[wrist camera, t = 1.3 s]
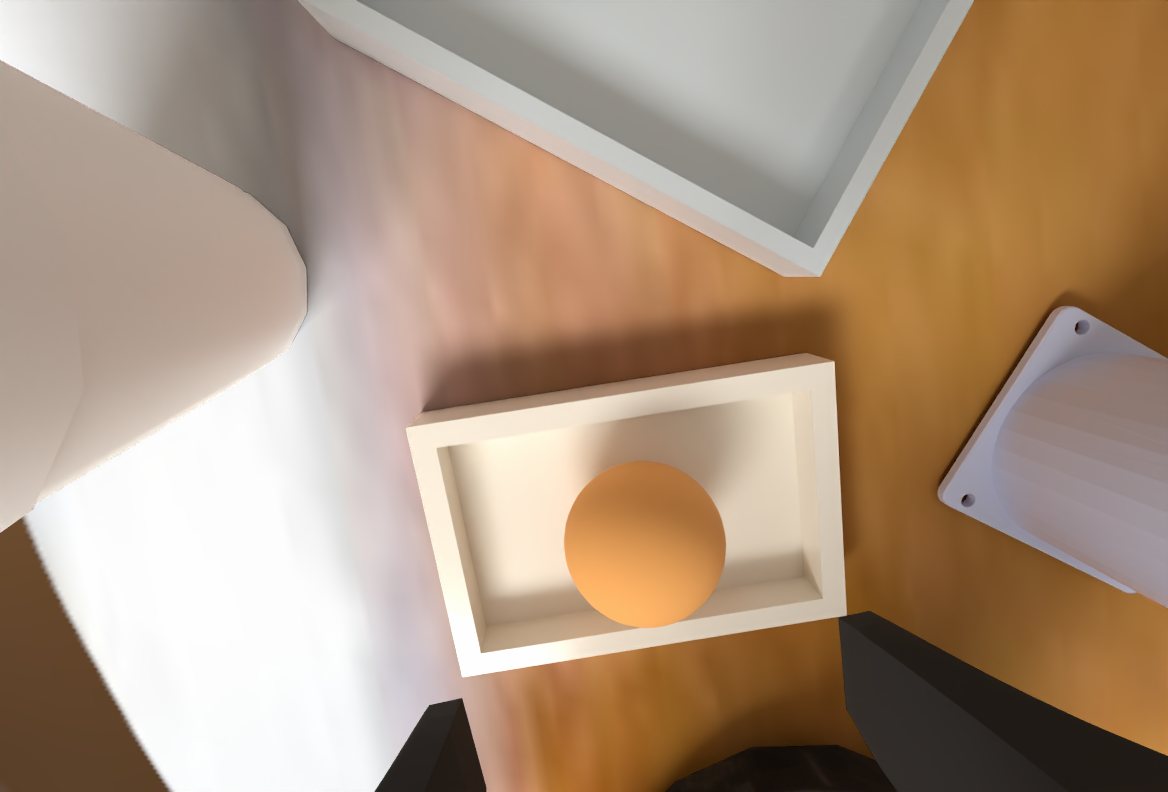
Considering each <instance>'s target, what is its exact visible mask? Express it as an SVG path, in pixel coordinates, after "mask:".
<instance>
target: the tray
mask: <svg viewBox="0 0 1168 792" xmlns="http://www.w3.org/2000/svg"><path fill="white" fill-rule="evenodd" d="M298 1H299V2H300V4H301V5H302V6H303V7H304V8H305V9H306V10H307V11H308V12H309V13H310V14H311V15H312V16H313V17H314V18H315V19H316V20H317V22H318V23H319V24H320V25H321V26H322V27H323V28H324V29H325V30H326V31H327V32H328V33H329V34H330V35H331V36H332V37H333V38H334V39H336V40H338V41H340V42H342V43H344V44H346V45H348V46H349V47H351V48H353V49H355V50H357V51H359V52H361V53H363V54H365V55H366V56H368V57H370V58H372V59H374V60H376V61H378V62H380V63H382V64H383V65H385V66H387V67H389V68H391V69H393V70H395V71H397V72H398V73H400V74H402V75H404V76H406V77H408V78H410V79H412V80H414V81H415V82H417V83H419V84H421V85H423V86H425V87H427V88H429V89H431V90H432V91H434V92H436V93H438V94H440V95H442V96H444V97H446V98H448V99H449V100H451V101H453V102H455V103H457V104H459V105H461V106H463V107H465V108H466V109H468V110H470V111H472V112H474V113H476V114H478V115H480V116H482V117H483V118H485V119H487V120H489V121H491V122H493V123H495V124H497V125H499V126H500V127H502V128H504V129H506V130H508V131H510V132H512V133H514V134H516V135H517V136H519V137H521V138H523V139H525V140H527V141H529V142H531V143H533V144H534V145H536V146H538V147H540V148H542V149H544V150H546V151H548V152H550V153H551V154H553V155H555V156H557V157H559V158H561V159H563V160H565V161H567V162H568V163H570V164H572V165H574V166H576V167H578V168H580V169H582V170H584V171H585V172H587V173H589V174H591V175H593V176H595V177H597V178H599V179H601V180H602V181H604V182H606V183H608V184H610V185H612V186H614V187H616V188H617V189H619V190H621V191H623V192H625V193H627V194H629V195H631V196H633V197H634V198H636V199H638V200H640V201H642V202H644V203H646V204H648V205H650V206H651V207H653V208H655V209H657V210H659V211H661V212H663V213H665V214H667V215H668V216H670V217H672V218H674V219H676V220H678V221H680V222H682V223H684V224H685V225H687V226H689V227H691V228H693V229H695V230H697V231H699V232H701V233H702V234H704V235H706V236H708V237H710V238H712V239H714V240H716V241H718V242H719V243H721V244H723V245H725V246H727V247H729V248H731V249H733V250H735V251H736V252H738V253H740V254H742V255H744V256H746V257H748V258H750V259H752V260H753V261H755V262H757V263H759V264H761V265H763V266H765V267H767V268H769V269H770V270H772V271H774V272H776V273H778V274H780V275H782V276H784V277H820V276H821V274H822V272H823V271H824V269H825V267H826V265H827V264H828V262H829V260H830V258H831V256H832V255H833V253H834V251H835V249H836V247H837V246H838V244H839V242H840V240H841V238H842V237H843V235H844V233H845V231H846V229H847V228H848V226H849V224H850V222H851V220H852V219H853V217H854V215H855V213H856V212H857V210H858V208H859V206H860V204H861V203H862V201H863V199H864V197H865V195H866V194H867V192H868V190H869V188H870V186H871V185H872V183H873V181H874V179H875V177H876V176H877V174H878V172H879V170H880V168H881V167H882V165H883V163H884V161H885V160H886V158H887V156H888V154H889V152H890V151H891V149H892V147H893V145H894V143H895V142H896V140H897V138H898V136H899V134H900V133H901V131H902V129H903V127H904V125H905V124H906V122H907V120H908V118H909V116H910V115H911V113H912V111H913V109H914V107H915V106H916V104H917V102H918V100H919V99H920V97H921V95H922V93H923V91H924V90H925V88H926V86H927V84H928V82H929V81H930V79H931V77H932V75H933V73H934V72H935V70H936V68H937V66H938V64H939V63H940V61H941V59H942V57H943V55H944V54H945V52H946V50H947V48H948V47H949V45H950V43H951V41H952V39H953V38H954V36H955V34H956V32H957V30H958V29H959V27H960V25H961V23H962V21H963V20H964V18H965V16H966V14H967V12H968V11H969V9H970V7H971V5H972V3H973V2H974V0H298Z"/></svg>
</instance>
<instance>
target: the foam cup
mask: <svg viewBox="0 0 1168 792" xmlns="http://www.w3.org/2000/svg"><path fill="white" fill-rule="evenodd" d="M306 314H307V270H306V266H305V264H304V262H303V260H302V258H301V256H300V254H299V252H298V250H297V248H296V246H295V244H294V241H293V239H292V237H291V235H290V233H289V231H288V229H287V227H286V226H285V225H284V224H283V223H282V222H281V221H280V220H279V219H277V218H276V217H275V216H274V215H273V214H272V213H271V212H269V211H268V210H267V209H266V208H265V207H264V206H263V205H262V204H260V203H259V202H258V201H257V200H256V199H255V198H254V197H252V196H251V195H250V194H248V193H245V192H243V191H242V190H241V189H240V188H239V187H237V186H235V185H233V184H231V183H229V182H227V181H225V180H224V179H222V178H220V177H218V176H216V175H214V174H212V173H211V172H209V171H207V170H205V169H203V168H201V167H199V166H197V165H196V164H194V163H192V162H190V161H188V160H186V159H184V158H182V157H181V156H179V155H177V154H175V153H173V152H171V151H169V150H167V149H166V148H164V147H162V146H160V145H158V144H156V143H154V142H153V141H151V140H149V139H147V138H145V137H143V136H141V135H139V134H138V133H136V132H134V131H132V130H130V129H128V128H126V127H124V126H123V125H121V124H119V123H117V122H115V121H113V120H111V119H109V118H108V117H106V116H104V115H102V114H100V113H98V112H96V111H95V110H93V109H91V108H89V107H87V106H85V105H83V104H81V103H80V102H78V101H76V100H74V99H72V98H70V97H68V96H66V95H65V94H63V93H61V92H59V91H57V90H55V89H53V88H51V87H50V86H48V85H46V84H44V83H42V82H40V81H38V80H37V79H35V78H33V77H31V76H29V75H27V74H25V73H23V72H22V71H20V70H18V69H16V68H14V67H12V66H10V65H8V64H7V63H5V62H3V61H1V60H0V532H2V531H3V530H4V529H6V528H7V527H8V526H10V525H11V524H12V523H14V522H16V521H17V520H18V519H20V518H21V517H23V516H24V515H26V514H27V513H28V512H30V511H31V510H33V508H34V506H35V504H37V503H38V502H40V501H42V500H43V499H45V498H47V497H48V496H50V495H52V494H53V493H55V492H57V491H58V490H60V489H62V488H63V487H65V486H67V485H68V484H70V483H72V482H73V481H75V480H77V479H78V478H80V477H82V476H84V475H85V474H87V473H89V472H90V471H92V470H94V469H95V468H97V467H99V466H100V465H102V464H104V463H105V462H107V461H109V460H110V459H112V458H114V457H115V456H117V455H119V454H120V453H122V452H124V451H125V450H127V449H129V448H130V447H132V446H134V445H136V444H137V443H139V442H141V441H142V440H144V439H146V438H147V437H149V436H151V435H152V434H154V433H156V432H157V431H159V430H161V429H162V428H164V427H166V426H167V425H169V424H171V423H172V422H174V421H176V420H177V419H179V418H181V417H182V416H184V415H186V414H188V413H189V412H191V411H193V410H194V409H196V408H198V407H199V406H201V405H203V404H204V403H206V402H208V401H209V400H211V399H213V398H214V397H216V396H218V395H219V394H221V393H223V392H224V391H226V390H228V389H229V388H231V387H233V386H235V385H236V384H238V383H240V382H241V381H243V380H245V379H246V378H248V377H249V376H251V375H252V374H253V373H255V372H257V371H258V370H260V369H261V368H263V367H264V366H265V365H267V364H268V363H270V362H271V361H272V360H274V359H275V358H277V357H278V356H280V355H281V354H282V353H284V352H285V351H287V350H288V349H289V348H290V346H291V344H292V342H293V340H294V338H295V336H296V334H297V332H298V330H299V328H300V326H301V324H302V322H303V320H304V318H305V316H306Z"/></svg>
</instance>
